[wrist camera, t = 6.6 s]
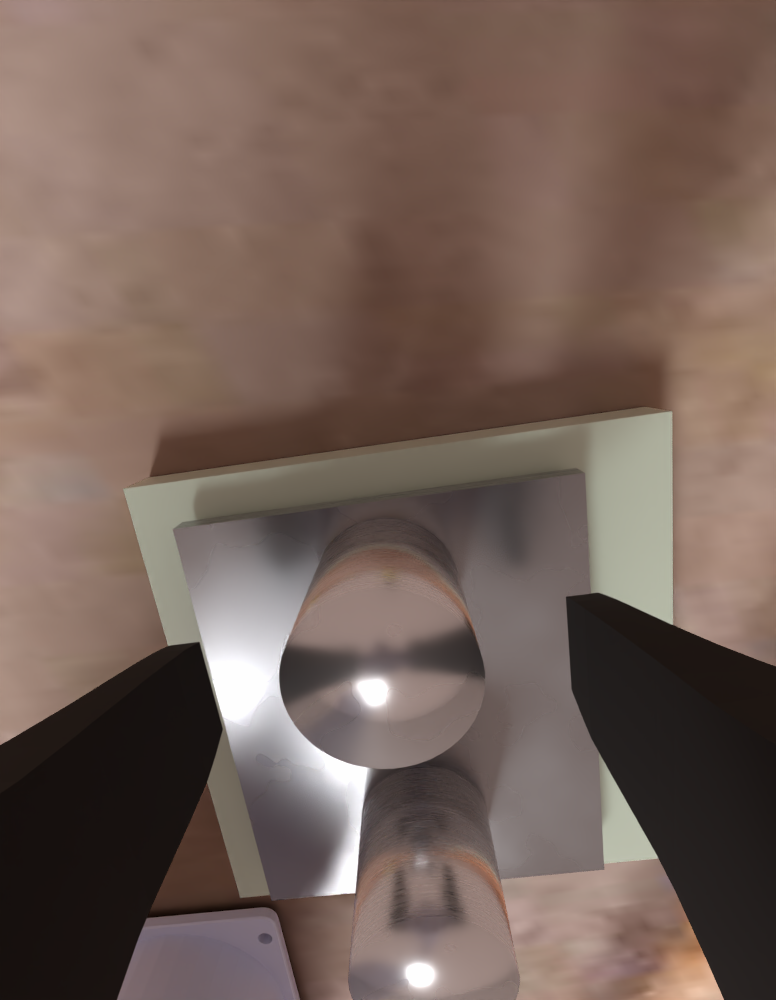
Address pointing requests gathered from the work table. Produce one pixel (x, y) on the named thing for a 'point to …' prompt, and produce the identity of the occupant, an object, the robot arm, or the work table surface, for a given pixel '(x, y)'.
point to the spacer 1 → (383, 650)
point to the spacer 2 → (429, 895)
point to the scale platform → (504, 649)
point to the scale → (419, 465)
